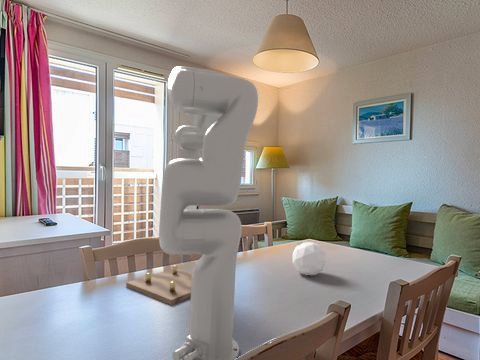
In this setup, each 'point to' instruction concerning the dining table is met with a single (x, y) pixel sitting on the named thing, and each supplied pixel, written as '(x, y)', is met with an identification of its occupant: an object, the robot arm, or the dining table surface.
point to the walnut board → (165, 285)
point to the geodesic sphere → (308, 258)
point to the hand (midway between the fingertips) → (186, 218)
